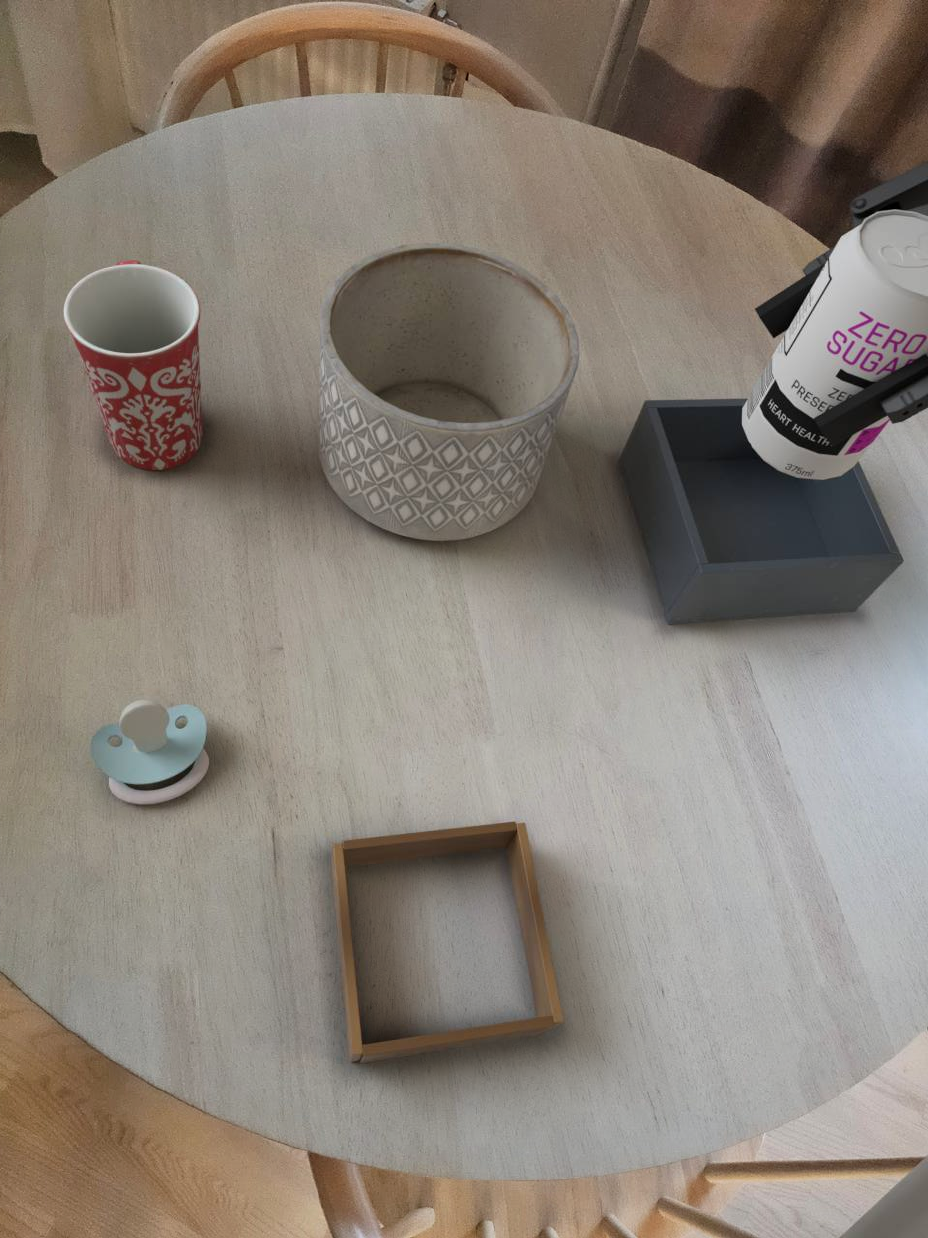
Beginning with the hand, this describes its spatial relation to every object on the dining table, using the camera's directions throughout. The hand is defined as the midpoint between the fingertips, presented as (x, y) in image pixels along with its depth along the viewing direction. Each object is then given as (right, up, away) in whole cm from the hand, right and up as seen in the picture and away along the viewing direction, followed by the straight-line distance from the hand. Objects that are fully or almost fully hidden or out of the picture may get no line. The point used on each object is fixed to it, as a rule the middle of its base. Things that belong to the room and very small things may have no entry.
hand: (792, 376), depth 57 cm
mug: (-45, +1, +20) cm, 50 cm away
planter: (-23, -1, +22) cm, 32 cm away
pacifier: (-41, -24, +6) cm, 48 cm away
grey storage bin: (+3, -7, +23) cm, 24 cm away
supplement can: (+2, -3, +6) cm, 7 cm away
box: (-22, -35, +3) cm, 42 cm away
